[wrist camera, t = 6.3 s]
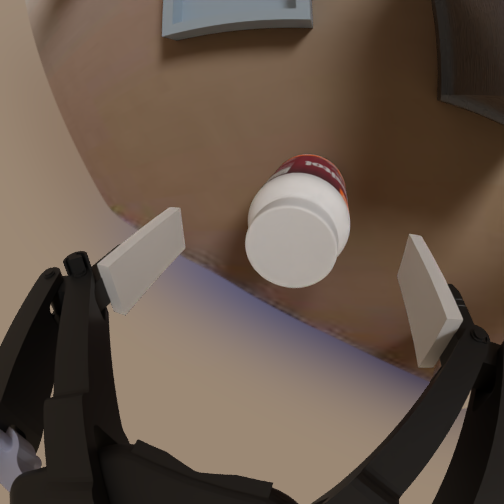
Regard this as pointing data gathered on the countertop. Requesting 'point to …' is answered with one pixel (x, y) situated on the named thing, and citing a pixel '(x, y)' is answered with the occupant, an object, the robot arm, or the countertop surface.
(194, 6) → the tray
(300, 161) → the pill bottle
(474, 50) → the box
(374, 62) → the countertop surface
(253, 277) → the countertop surface
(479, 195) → the countertop surface
